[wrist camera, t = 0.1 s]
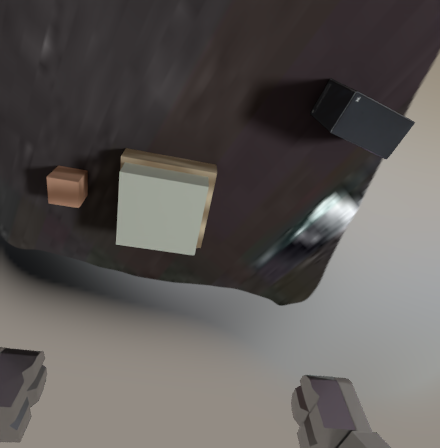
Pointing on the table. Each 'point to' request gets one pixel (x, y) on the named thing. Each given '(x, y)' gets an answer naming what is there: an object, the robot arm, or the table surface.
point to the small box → (360, 119)
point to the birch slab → (178, 166)
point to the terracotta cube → (67, 186)
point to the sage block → (160, 208)
